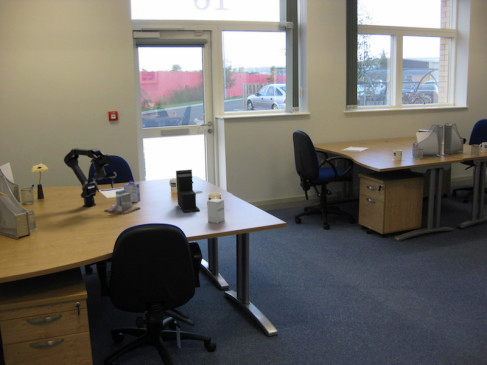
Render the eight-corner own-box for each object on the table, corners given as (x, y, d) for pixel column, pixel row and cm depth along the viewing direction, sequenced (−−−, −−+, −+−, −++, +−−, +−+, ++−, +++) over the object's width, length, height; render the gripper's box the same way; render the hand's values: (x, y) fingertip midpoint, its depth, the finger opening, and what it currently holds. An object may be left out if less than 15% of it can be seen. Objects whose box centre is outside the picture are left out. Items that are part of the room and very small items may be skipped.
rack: (104, 211, 302) (102, 194, 300) (119, 206, 314) (118, 190, 312) (125, 214, 294) (123, 197, 291) (140, 208, 306) (138, 192, 303)
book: (117, 209, 302) (115, 191, 299) (123, 207, 307) (122, 189, 305) (120, 209, 300) (119, 191, 298) (127, 207, 306) (125, 189, 303)
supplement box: (218, 223, 267) (217, 202, 265) (207, 221, 271) (206, 200, 269) (225, 220, 274) (224, 199, 271) (214, 218, 277) (214, 198, 275)
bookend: (200, 211, 295) (198, 175, 290) (183, 213, 292) (181, 176, 287) (193, 203, 317) (191, 169, 312) (177, 204, 314) (175, 170, 309)
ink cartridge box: (140, 200, 329) (139, 180, 326) (138, 202, 324) (136, 182, 321) (127, 200, 330) (125, 180, 327) (124, 202, 325) (122, 182, 322)
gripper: (81, 171, 298) (88, 194, 299) (109, 163, 299) (116, 187, 300) (86, 171, 309) (93, 193, 310) (113, 163, 310) (120, 186, 311)
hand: (105, 190), depth 307 cm, fingers open, 9 cm apart
